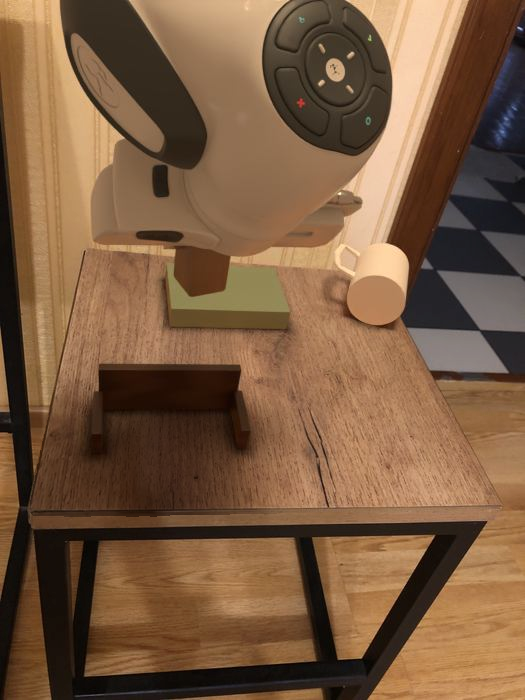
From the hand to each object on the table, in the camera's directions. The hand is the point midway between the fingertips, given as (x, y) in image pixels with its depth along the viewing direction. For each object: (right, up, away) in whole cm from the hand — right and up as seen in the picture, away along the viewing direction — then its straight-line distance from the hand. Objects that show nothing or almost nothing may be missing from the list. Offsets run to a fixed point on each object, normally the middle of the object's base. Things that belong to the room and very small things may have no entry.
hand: (202, 241), depth 54 cm
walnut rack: (-4, -19, +8) cm, 21 cm away
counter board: (0, -4, +28) cm, 28 cm away
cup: (+20, -2, +28) cm, 34 cm away
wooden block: (-1, -4, +2) cm, 5 cm away
